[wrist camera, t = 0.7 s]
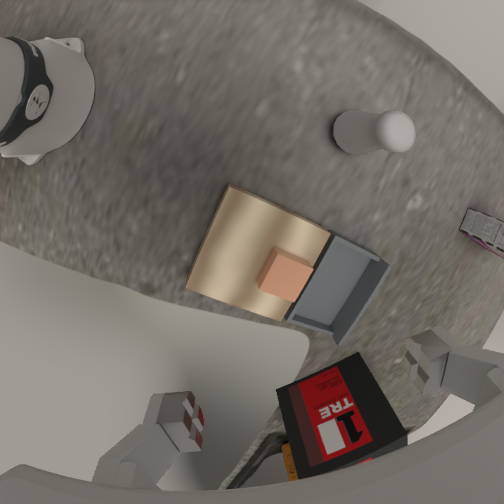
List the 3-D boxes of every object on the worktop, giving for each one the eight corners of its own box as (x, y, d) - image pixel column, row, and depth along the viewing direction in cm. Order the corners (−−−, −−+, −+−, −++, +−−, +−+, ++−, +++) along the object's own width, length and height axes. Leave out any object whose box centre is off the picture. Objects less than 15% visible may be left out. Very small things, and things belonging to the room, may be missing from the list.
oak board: (187, 277, 40) (185, 287, 37) (228, 183, 36) (229, 186, 33) (276, 310, 43) (280, 321, 40) (323, 226, 39) (330, 233, 36)
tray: (282, 312, 43) (290, 331, 39) (329, 229, 39) (343, 241, 35) (330, 327, 45) (340, 346, 41) (375, 253, 42) (391, 266, 37)
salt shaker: (373, 132, 35) (433, 134, 23) (349, 162, 36) (405, 174, 24) (343, 103, 33) (398, 90, 21) (318, 133, 35) (366, 130, 22)
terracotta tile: (256, 280, 38) (258, 289, 35) (274, 246, 36) (277, 253, 34) (289, 293, 39) (294, 302, 36) (308, 261, 37) (313, 268, 35)
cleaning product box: (358, 351, 49) (407, 434, 30) (365, 378, 52) (407, 453, 33) (275, 389, 49) (298, 481, 31) (291, 412, 53) (314, 494, 34)
